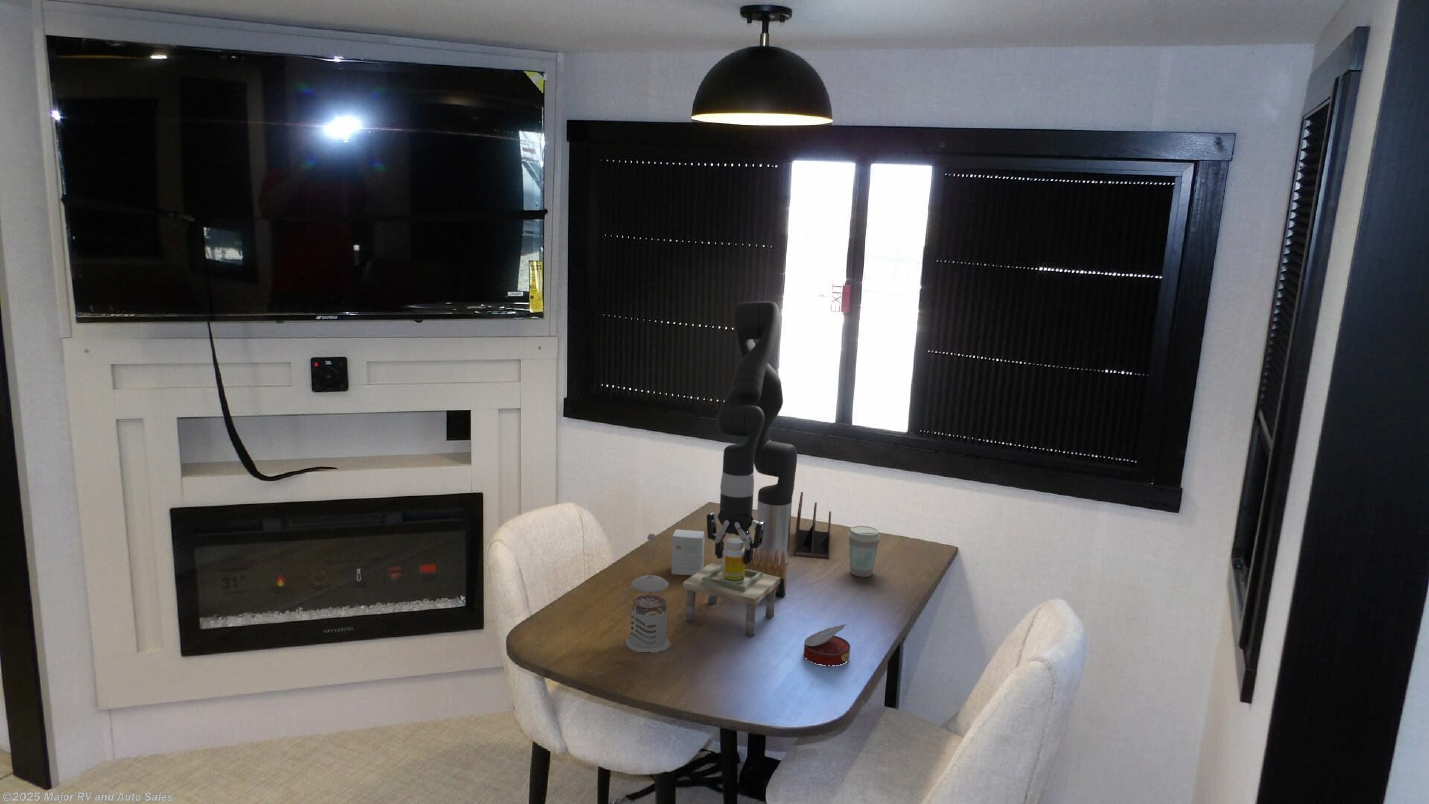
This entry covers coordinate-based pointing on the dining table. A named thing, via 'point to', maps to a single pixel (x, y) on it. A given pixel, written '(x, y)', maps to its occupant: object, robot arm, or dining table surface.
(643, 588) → the french press
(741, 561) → the supplement bottle
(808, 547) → the letter holder
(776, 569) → the ammunition clip
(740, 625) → the dining table surface
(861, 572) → the coffee cup
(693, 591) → the miniature tray table
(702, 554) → the small box
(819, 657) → the canned food
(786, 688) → the dining table surface
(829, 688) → the dining table surface
